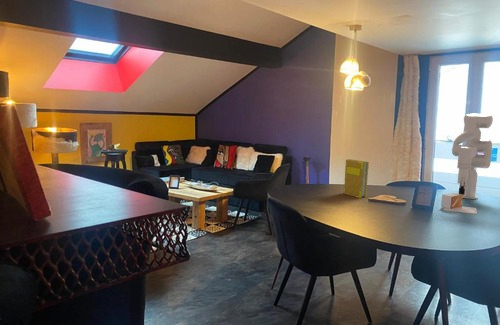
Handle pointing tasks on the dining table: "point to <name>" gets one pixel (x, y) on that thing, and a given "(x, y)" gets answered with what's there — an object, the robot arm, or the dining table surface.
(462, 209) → the mat
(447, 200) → the small box
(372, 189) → the dining table surface
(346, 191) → the book
